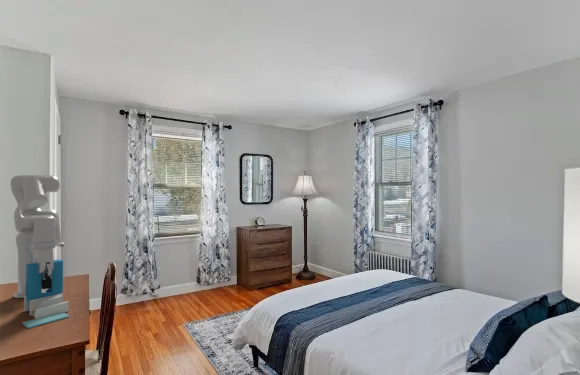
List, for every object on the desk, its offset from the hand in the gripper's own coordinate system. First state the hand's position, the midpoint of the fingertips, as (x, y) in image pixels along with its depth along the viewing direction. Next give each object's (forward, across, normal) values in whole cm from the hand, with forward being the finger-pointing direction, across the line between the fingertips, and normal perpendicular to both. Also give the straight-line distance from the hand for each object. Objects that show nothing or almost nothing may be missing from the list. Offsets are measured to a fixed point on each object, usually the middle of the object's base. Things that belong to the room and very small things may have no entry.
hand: (43, 286), depth 133 cm
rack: (+10, +4, 0) cm, 10 cm away
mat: (+10, +16, -3) cm, 19 cm away
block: (+10, 0, 0) cm, 10 cm away
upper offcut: (+6, +8, 0) cm, 10 cm away
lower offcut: (+10, +8, 0) cm, 12 cm away
